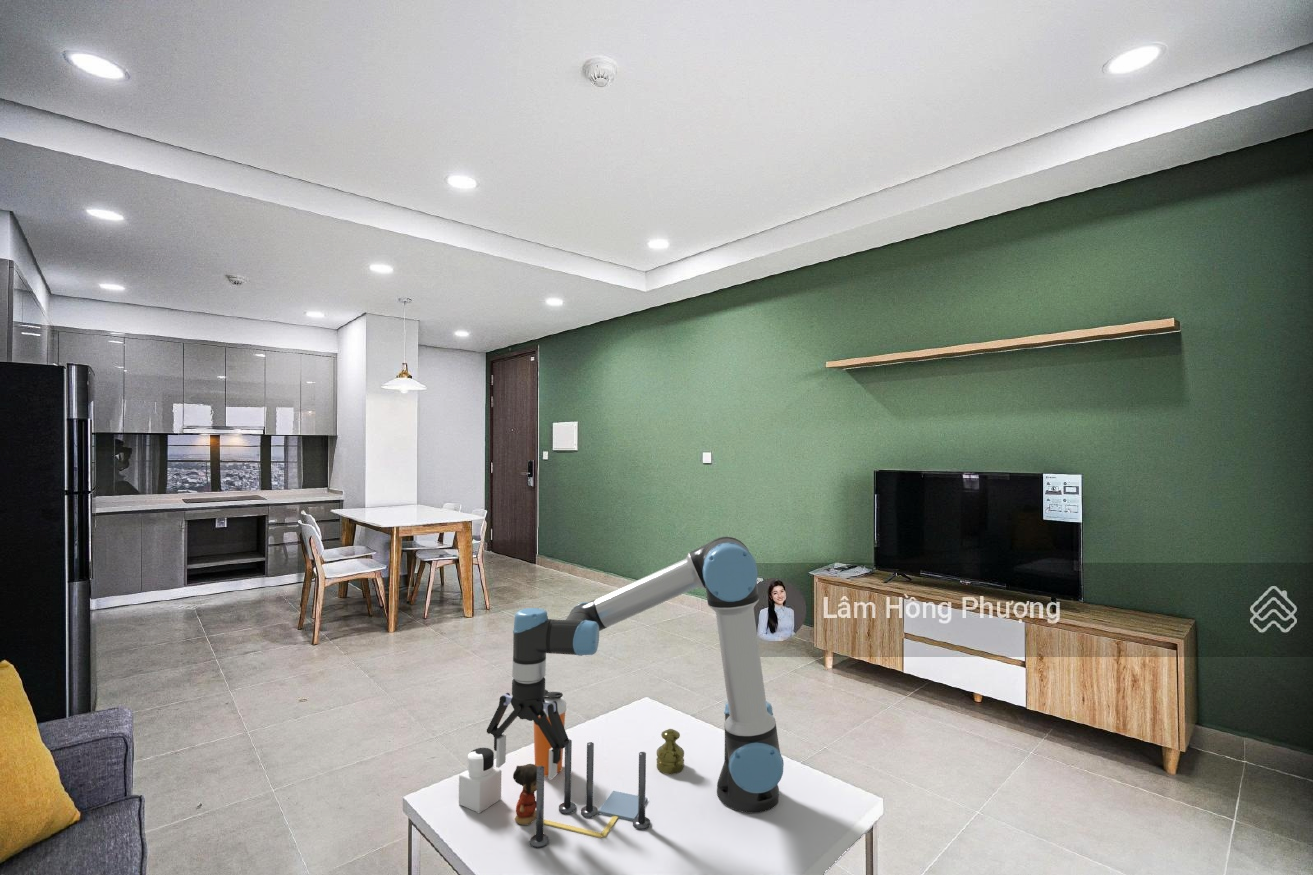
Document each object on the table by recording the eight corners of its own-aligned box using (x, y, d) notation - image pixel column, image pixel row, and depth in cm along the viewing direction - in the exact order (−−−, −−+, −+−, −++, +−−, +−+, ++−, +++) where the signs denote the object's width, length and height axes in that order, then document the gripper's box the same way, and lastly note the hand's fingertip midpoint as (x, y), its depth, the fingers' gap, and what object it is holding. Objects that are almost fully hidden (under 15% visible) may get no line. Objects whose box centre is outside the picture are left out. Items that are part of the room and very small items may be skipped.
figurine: (513, 828, 139) (514, 774, 139) (512, 813, 144) (512, 761, 144) (541, 823, 140) (542, 770, 141) (539, 809, 146) (540, 758, 146)
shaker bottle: (558, 780, 159) (559, 701, 159) (525, 775, 161) (527, 698, 161) (570, 762, 167) (571, 688, 168) (539, 759, 169) (540, 685, 170)
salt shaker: (677, 777, 161) (677, 739, 161) (651, 770, 164) (652, 732, 164) (688, 764, 167) (688, 727, 167) (663, 758, 170) (663, 721, 171)
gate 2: (652, 821, 142) (653, 751, 142) (646, 831, 138) (647, 759, 138) (585, 806, 147) (586, 738, 148) (577, 815, 143) (578, 746, 144)
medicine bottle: (480, 790, 154) (481, 741, 154) (501, 799, 150) (502, 749, 150) (458, 804, 147) (458, 753, 148) (479, 814, 144) (480, 762, 144)
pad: (647, 800, 150) (647, 797, 150) (634, 821, 142) (634, 818, 142) (613, 793, 153) (613, 790, 153) (598, 813, 145) (598, 810, 145)
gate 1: (578, 806, 147) (579, 738, 148) (543, 850, 131) (544, 773, 131) (563, 802, 149) (564, 735, 149) (526, 845, 133) (527, 770, 133)
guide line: (618, 817, 143) (618, 816, 143) (604, 838, 135) (604, 837, 135) (558, 804, 148) (558, 802, 148) (540, 823, 140) (540, 822, 140)
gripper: (585, 680, 142) (582, 773, 142) (491, 664, 150) (489, 752, 150) (570, 692, 135) (567, 790, 135) (473, 675, 143) (470, 767, 143)
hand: (526, 770), depth 142 cm, fingers open, 13 cm apart
